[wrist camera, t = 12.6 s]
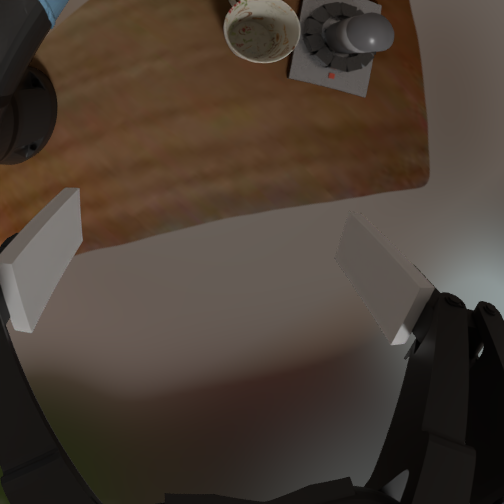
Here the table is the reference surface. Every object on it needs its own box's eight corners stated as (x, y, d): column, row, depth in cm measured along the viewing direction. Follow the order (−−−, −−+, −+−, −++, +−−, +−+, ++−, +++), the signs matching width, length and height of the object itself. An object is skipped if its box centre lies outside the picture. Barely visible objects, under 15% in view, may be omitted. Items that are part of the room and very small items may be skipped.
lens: (322, 48, 37) (353, 43, 28) (328, 17, 35) (360, 5, 26) (354, 58, 38) (390, 57, 30) (360, 28, 36) (397, 21, 27)
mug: (238, 77, 39) (248, 75, 30) (191, 7, 33) (189, -13, 24) (290, 51, 38) (314, 43, 29) (245, -19, 32) (257, -43, 23)
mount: (287, 78, 40) (292, 78, 37) (304, -19, 32) (311, -24, 30) (362, 97, 42) (371, 98, 40) (378, 6, 35) (388, 3, 32)
